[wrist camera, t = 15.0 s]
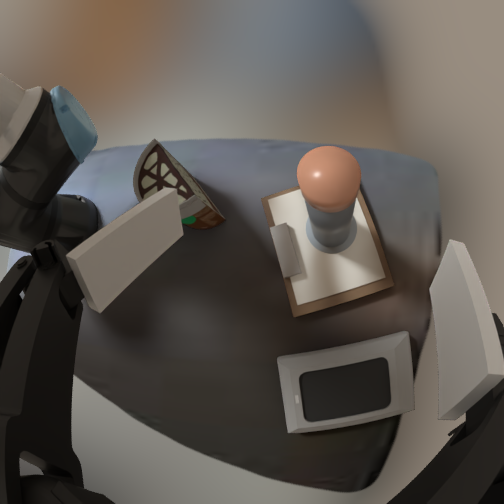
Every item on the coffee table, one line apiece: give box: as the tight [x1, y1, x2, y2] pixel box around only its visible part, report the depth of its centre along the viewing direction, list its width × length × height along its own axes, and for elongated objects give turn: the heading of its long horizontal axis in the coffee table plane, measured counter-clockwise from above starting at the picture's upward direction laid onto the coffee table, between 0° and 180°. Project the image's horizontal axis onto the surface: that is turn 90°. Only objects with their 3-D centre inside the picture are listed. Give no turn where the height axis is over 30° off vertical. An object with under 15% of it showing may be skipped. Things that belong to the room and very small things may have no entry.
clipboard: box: [261, 186, 394, 317], centre depth 30 cm, size 12×15×2 cm
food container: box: [133, 139, 226, 230], centre depth 33 cm, size 12×6×10 cm, turn 36°
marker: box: [297, 146, 361, 247], centre depth 24 cm, size 5×5×13 cm
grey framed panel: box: [277, 331, 415, 433], centre depth 26 cm, size 10×4×15 cm
